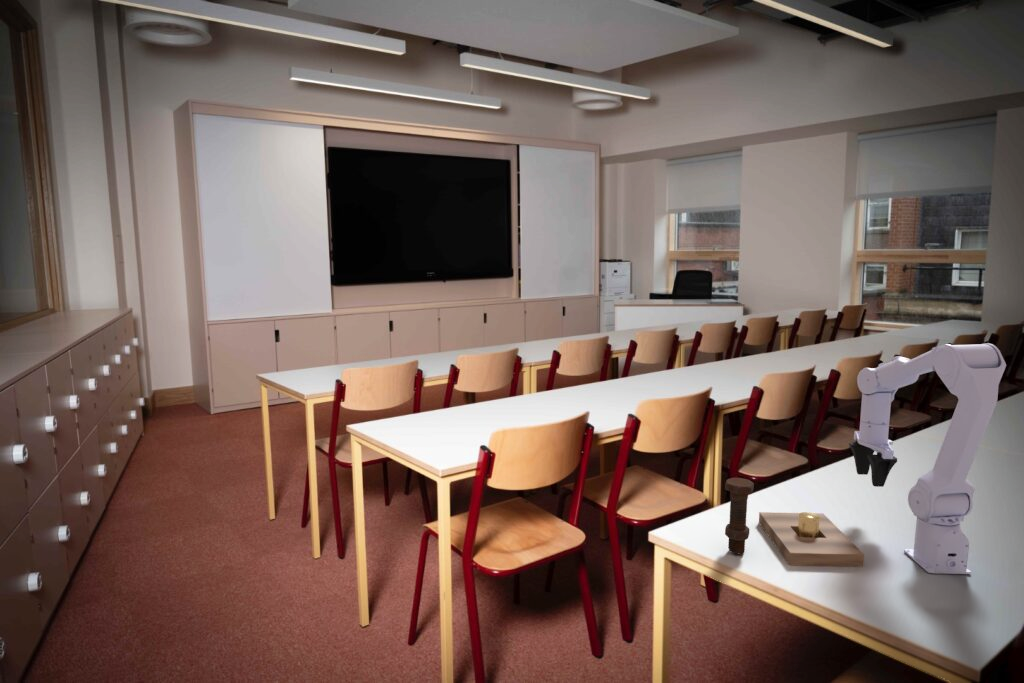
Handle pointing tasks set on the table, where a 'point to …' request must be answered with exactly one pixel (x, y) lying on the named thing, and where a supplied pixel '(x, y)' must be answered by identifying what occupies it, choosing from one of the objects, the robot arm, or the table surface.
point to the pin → (808, 525)
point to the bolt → (738, 513)
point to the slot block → (810, 542)
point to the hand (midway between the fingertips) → (870, 479)
